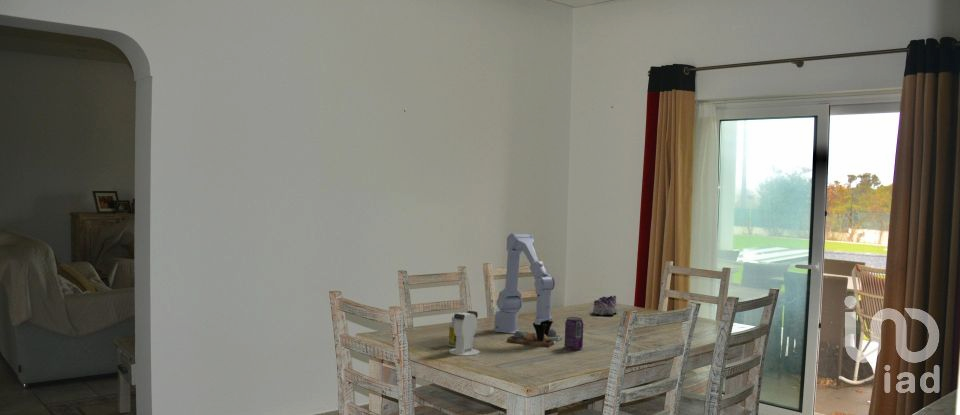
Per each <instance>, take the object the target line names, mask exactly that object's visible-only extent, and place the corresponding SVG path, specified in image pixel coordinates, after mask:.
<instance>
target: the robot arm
mask: <svg viewBox="0 0 960 415" xmlns="http://www.w3.org/2000/svg"><path fill="white" fill-rule="evenodd" d="M534 244H535V239H534V236H533V235H532V233H513V232H511V233H510V234H508V236H507V237H506V249H505V250H506V251H507V259H506V273H505V274H506V275H505V287H504V288H503V289H501V290H500V292H498V298H497V300H496V306H497V308H498V309H497V310H496V311H495V313H494V326H493V332H496V333H497V332H498V333H504V334H505V333H506V334H512V335H514V333H515V332H516V331H521V330H520V329H518V315H519V314H518V312H520V310H521V309H522V306H523V299H522V296H523V295H522V293H521V292H520V291H519V290H518V281H519V270H520V269H519V268H520V256H521V254H522V253H524V255H525V257H526V258H527V260H528V262H529V264H530V265H529V270H530V272H531V274H532V277H533V278H534V283H533V284H534V289H535V294H536V311H535V320H534V322H532V326H533V328H534V332H536V335H537V340H538V341H543V339H544V334H545V335H546V336H547V337H548V333H549V329H551V327H552V324H553V323H554V321H553V320H554V317H553V316H552V314H551V311H552V291H553V290H554V288H555V284H556V282H555V278H554V276H552V275H551V274H549V273H548V271H547V269H546V267H545V265H544V263H543V262H542V261H541V260H539V258H538V255H537V252H536V250H535V247H534Z"/></svg>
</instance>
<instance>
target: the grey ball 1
mask: <svg viewBox="0 0 960 415" xmlns="http://www.w3.org/2000/svg"><path fill="white" fill-rule="evenodd" d="M522 331H523V330H520V331H516V332H515V333H514V334H513V336H514V338H515V339H520V340H522V339H523V338H524V334H523V332H522Z"/></svg>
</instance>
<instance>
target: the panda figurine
mask: <svg viewBox="0 0 960 415" xmlns="http://www.w3.org/2000/svg"><path fill="white" fill-rule="evenodd" d="M478 315H479V314H478V311H474V310H467V312H460V313H454V314H453V316H454V319H455V323H454V333H455V337H454V341H455V342H456V347H454V348H452V349H449V354H451V353H452V354H451V355H454V354H455V356H461V355H463V356H469V357H470V356H471V355H472V356H476V355H479V354H480V350H478V349H475V348H473V346H474V337H475V334H476V333H477V330H478V320H477V318H478Z"/></svg>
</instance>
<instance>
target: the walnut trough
mask: <svg viewBox="0 0 960 415" xmlns="http://www.w3.org/2000/svg"><path fill="white" fill-rule="evenodd" d="M506 342H507V343H513V344H520V345H521V344H522V345H528V346H538V347H545V348H550V347H552V346H554V345H555V343H554V341H552V340H547V341H546V342H545V343H544V342H538V340H537V339H536V338H535V340H534V341H528V340H526V337H524V338H523V339H522V340H520V339H515V338H514V335H511V336H508V337H506Z"/></svg>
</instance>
